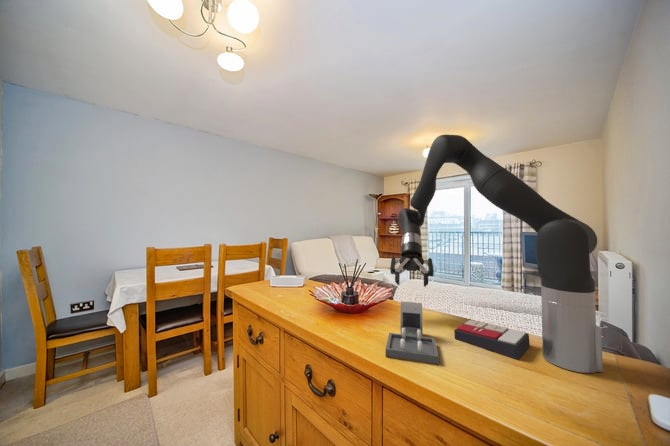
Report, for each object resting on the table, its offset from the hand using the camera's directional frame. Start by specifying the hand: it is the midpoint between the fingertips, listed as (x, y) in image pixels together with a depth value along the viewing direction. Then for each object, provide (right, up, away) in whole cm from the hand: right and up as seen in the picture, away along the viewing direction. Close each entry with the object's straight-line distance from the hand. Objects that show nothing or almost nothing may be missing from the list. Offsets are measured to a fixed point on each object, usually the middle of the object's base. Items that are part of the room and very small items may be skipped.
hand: (411, 284), depth 82 cm
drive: (-3, -13, -9) cm, 16 cm away
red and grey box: (+17, -13, -14) cm, 26 cm away
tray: (-6, -12, -19) cm, 23 cm away
